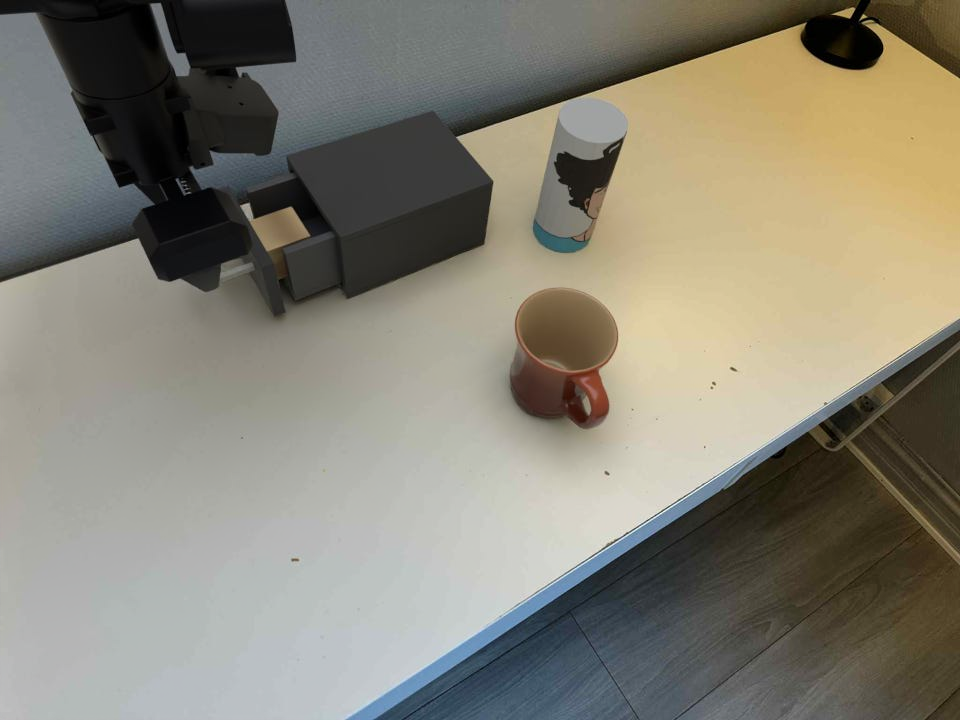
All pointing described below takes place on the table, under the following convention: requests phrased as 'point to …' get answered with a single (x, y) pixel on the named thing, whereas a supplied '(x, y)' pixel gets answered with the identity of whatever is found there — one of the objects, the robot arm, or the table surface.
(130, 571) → the table surface
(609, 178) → the cup
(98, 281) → the table surface
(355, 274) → the cabinet
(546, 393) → the mug
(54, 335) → the table surface
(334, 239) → the drawer
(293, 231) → the block
